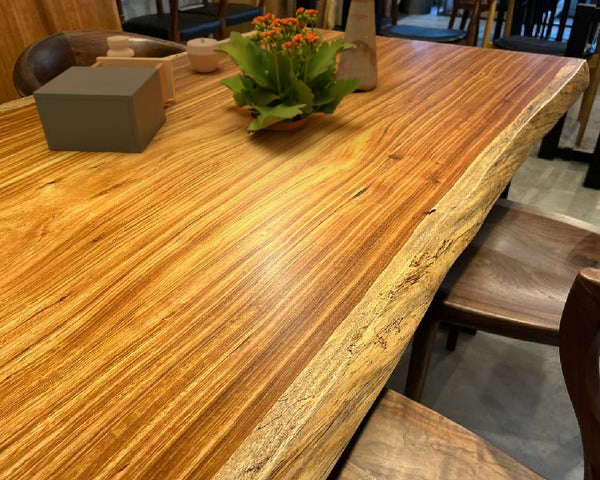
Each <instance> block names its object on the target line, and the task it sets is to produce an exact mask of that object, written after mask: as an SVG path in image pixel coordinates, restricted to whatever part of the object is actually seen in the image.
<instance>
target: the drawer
mask: <svg viewBox="0 0 600 480" xmlns="http://www.w3.org/2000/svg"><path fill="white" fill-rule="evenodd" d="M95 60H96V62H95V63H93V64H92V65H91V66H90V67H123V68H158V69H159V75H160V82H161V89H162V96H163V103H164V105H166V104H167V102H168V100H169V99H175V98H176V97H177V94H176V93H177V92H176V85H175V80H174V78H175V77H174V71H173V64H172V58H169V57H135V58H132V57H107V56H98V57H96V58H95Z"/></svg>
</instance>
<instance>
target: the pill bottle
mask: <svg viewBox="0 0 600 480" xmlns="http://www.w3.org/2000/svg"><path fill="white" fill-rule="evenodd" d="M106 41H107V46H108V48H109V49H108V50H107V52H106V57H132V58H136V55H135V51H134V50H133V49H132V48H131V47H130V41H129V37H128V36H126V35H114V36H109V37H107V39H106Z"/></svg>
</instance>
